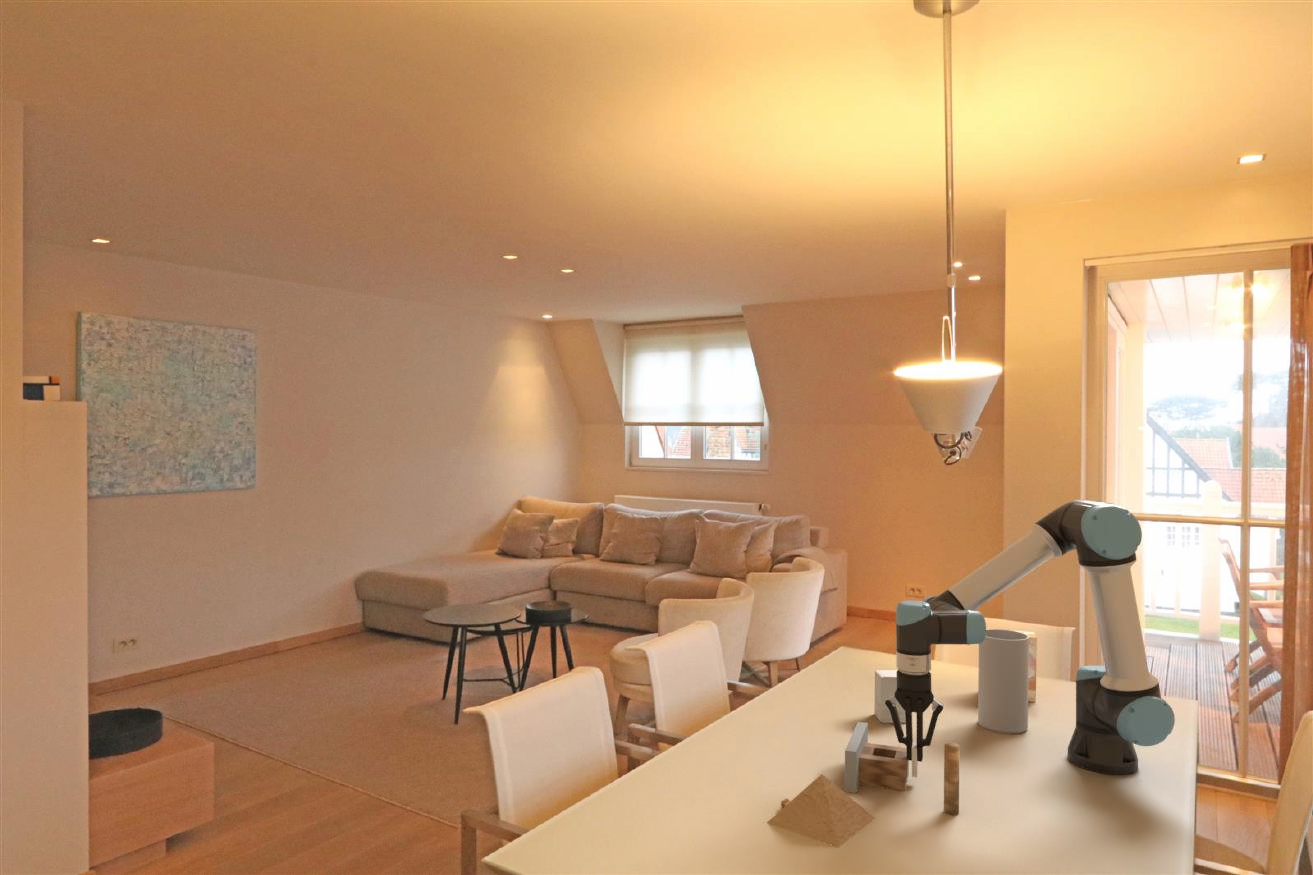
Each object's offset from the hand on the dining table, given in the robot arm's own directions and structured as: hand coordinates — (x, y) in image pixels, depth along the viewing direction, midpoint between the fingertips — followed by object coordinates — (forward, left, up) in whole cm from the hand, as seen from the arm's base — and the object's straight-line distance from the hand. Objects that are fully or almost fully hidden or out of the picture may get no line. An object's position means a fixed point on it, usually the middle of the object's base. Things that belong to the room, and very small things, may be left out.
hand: (914, 774), depth 192 cm
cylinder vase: (-19, -48, -2) cm, 52 cm away
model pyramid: (+17, +26, -3) cm, 31 cm away
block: (+7, 0, -2) cm, 7 cm away
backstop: (+13, 0, -2) cm, 13 cm away
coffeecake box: (-21, -77, -2) cm, 80 cm away
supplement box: (+10, -43, -2) cm, 44 cm away
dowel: (-8, +12, -2) cm, 15 cm away
